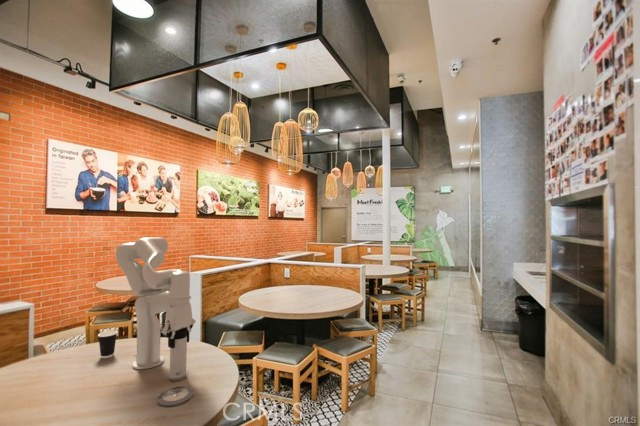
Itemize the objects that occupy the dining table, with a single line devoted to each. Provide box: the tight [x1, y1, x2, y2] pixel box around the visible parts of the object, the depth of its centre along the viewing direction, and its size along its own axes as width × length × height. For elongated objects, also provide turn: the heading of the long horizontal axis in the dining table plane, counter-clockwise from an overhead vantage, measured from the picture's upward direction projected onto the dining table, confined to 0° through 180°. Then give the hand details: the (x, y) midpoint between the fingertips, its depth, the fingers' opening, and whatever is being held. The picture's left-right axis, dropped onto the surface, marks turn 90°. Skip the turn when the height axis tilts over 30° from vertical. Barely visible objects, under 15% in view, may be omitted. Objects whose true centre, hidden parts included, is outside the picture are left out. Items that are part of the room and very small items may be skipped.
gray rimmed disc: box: [157, 385, 194, 408], centre depth 114 cm, size 12×12×1 cm
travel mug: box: [169, 328, 188, 382], centre depth 129 cm, size 6×7×20 cm
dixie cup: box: [97, 330, 118, 359], centre depth 151 cm, size 8×8×11 cm
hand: (178, 344), depth 129 cm, fingers closed on travel mug, 6 cm apart
